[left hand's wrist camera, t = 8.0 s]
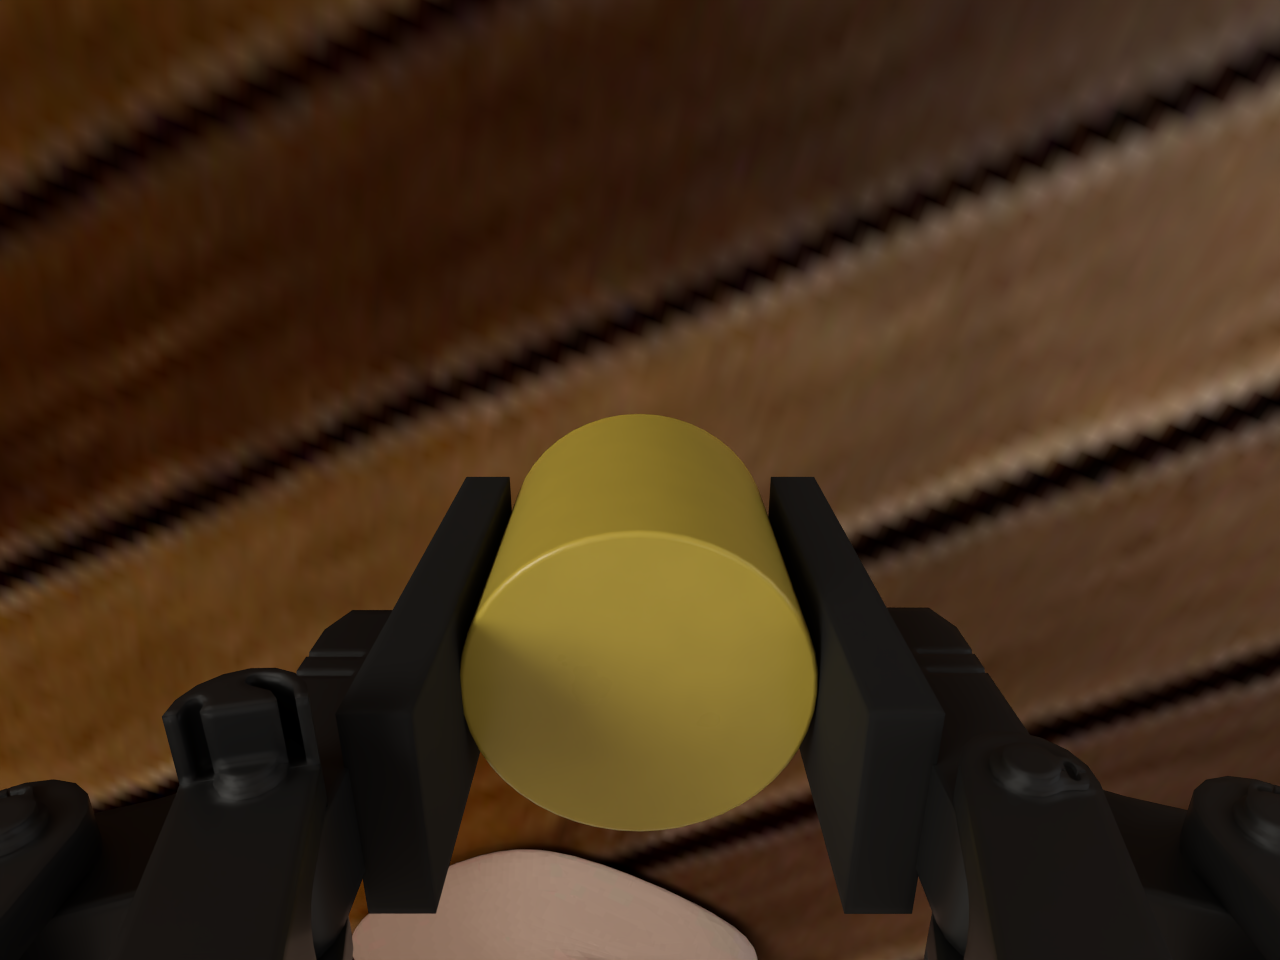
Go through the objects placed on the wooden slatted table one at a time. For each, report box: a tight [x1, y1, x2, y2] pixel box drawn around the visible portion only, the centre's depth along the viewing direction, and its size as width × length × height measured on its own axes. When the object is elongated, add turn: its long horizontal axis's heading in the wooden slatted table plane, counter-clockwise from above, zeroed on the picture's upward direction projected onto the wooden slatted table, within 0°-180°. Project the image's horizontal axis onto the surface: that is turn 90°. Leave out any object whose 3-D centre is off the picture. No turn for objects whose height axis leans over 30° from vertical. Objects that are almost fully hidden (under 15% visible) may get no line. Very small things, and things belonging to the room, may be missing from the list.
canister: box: [460, 414, 818, 831], centre depth 12 cm, size 5×5×5 cm
